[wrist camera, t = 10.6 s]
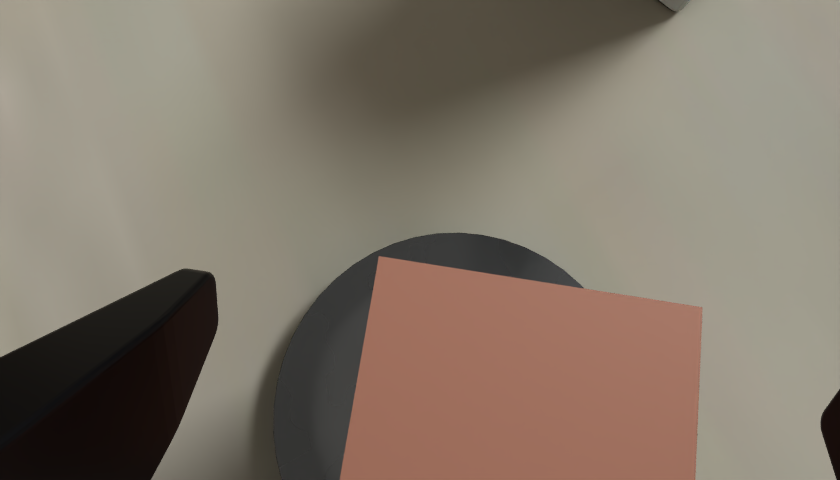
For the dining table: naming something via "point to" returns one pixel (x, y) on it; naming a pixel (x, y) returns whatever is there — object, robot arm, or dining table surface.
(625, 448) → the upright salmon prism
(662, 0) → the supplement box
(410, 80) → the dining table surface
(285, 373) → the charcoal dinner plate
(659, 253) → the dining table surface
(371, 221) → the dining table surface
